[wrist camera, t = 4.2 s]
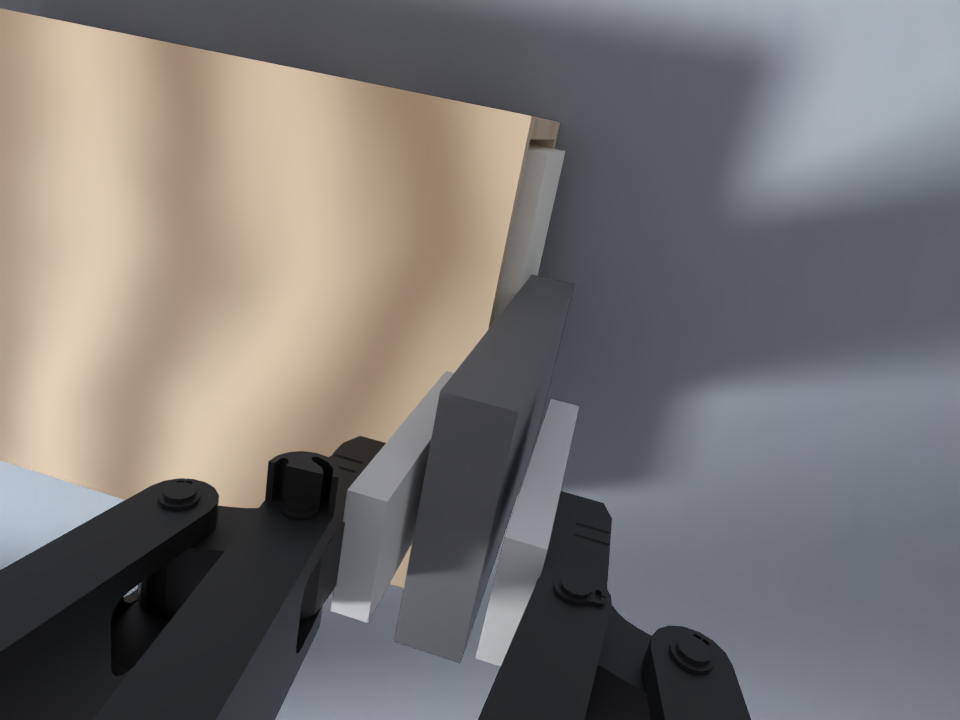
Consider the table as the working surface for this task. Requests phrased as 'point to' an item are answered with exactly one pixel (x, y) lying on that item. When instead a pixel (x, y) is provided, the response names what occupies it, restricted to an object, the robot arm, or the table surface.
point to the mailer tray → (486, 432)
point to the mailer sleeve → (231, 256)
